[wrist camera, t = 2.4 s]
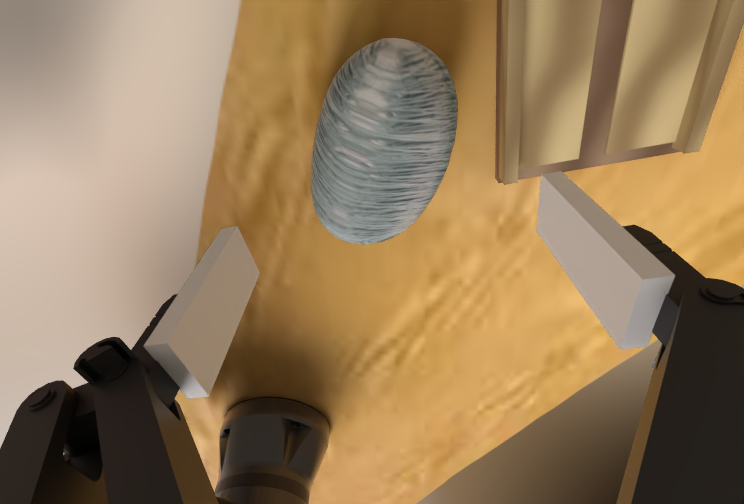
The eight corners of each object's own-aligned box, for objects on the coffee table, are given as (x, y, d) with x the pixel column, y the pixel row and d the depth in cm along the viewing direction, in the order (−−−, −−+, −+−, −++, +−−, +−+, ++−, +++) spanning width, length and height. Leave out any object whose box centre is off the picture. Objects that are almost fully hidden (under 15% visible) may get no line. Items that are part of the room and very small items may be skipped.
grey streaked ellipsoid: (416, 254, 30) (378, 285, 21) (324, 206, 32) (252, 215, 23) (495, 92, 26) (490, 43, 17) (382, 49, 28) (323, -15, 19)
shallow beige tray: (495, 178, 30) (504, 190, 28) (497, -52, 21) (510, -58, 19) (674, 146, 28) (697, 157, 26) (752, -114, 20) (794, -127, 18)
